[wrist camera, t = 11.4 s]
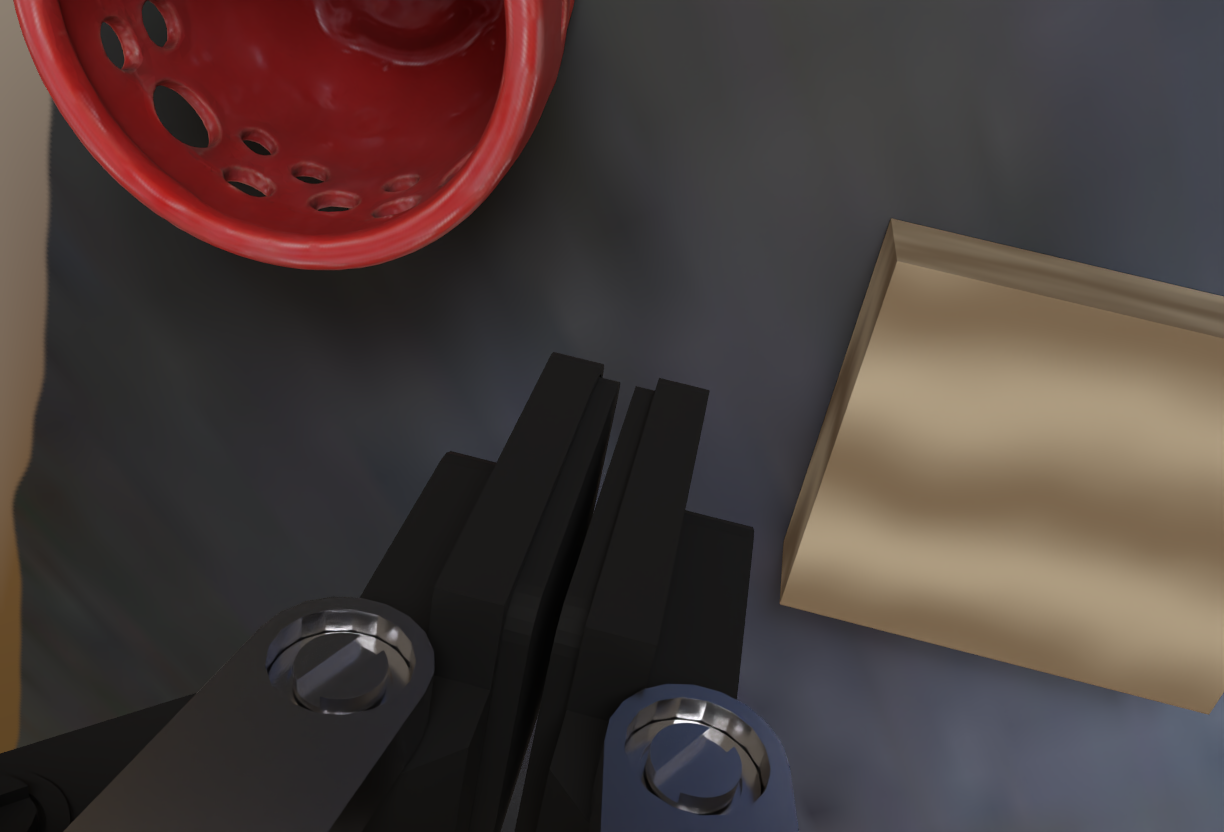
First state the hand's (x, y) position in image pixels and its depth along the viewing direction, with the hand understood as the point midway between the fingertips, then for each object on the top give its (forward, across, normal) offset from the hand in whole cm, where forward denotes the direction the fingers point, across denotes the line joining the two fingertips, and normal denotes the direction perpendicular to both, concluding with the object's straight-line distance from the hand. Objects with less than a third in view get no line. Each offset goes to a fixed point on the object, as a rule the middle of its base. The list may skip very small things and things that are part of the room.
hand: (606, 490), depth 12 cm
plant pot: (+27, +11, 0) cm, 29 cm away
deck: (+27, -14, +12) cm, 33 cm away
